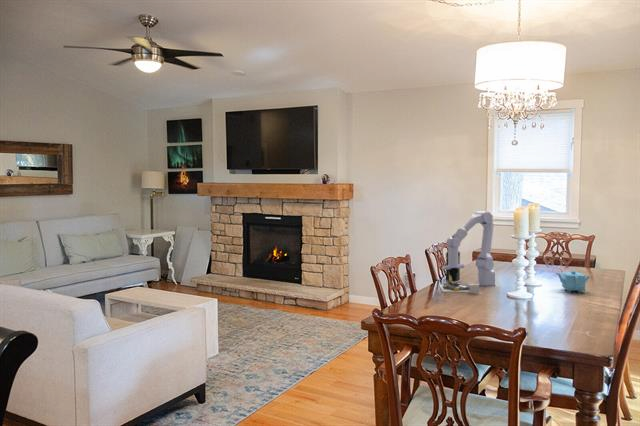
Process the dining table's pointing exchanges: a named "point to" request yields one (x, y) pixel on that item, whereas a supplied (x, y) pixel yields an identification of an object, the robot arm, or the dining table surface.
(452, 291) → the base plate
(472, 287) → the yellow banded block
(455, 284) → the sprocket
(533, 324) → the dining table surface
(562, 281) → the teapot
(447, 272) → the coffee jar
